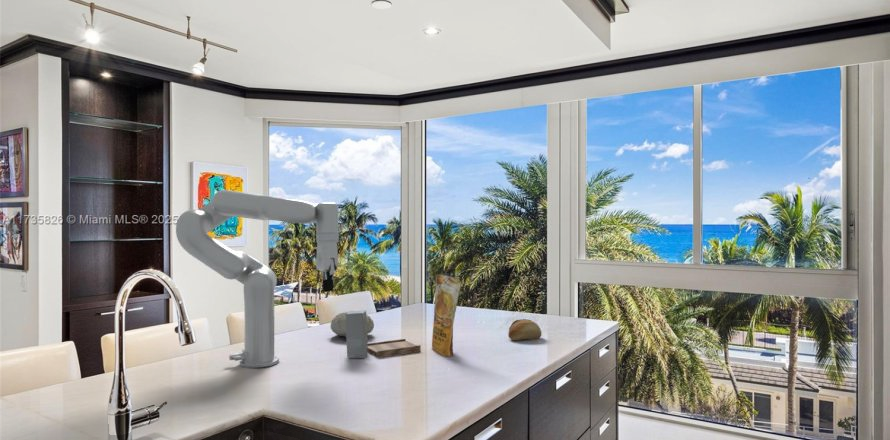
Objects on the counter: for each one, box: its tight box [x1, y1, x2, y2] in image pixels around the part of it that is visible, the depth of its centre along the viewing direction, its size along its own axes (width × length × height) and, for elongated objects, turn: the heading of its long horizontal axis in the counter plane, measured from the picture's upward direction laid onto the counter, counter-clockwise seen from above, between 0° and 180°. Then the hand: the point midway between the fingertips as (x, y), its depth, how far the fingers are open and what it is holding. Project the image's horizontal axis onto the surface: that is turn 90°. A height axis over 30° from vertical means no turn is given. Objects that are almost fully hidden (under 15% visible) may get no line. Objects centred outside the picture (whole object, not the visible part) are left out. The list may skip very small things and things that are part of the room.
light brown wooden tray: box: [367, 338, 422, 358], centre depth 194 cm, size 17×13×2 cm
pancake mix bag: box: [431, 273, 462, 358], centre depth 193 cm, size 7×19×28 cm, turn 22°
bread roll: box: [507, 318, 542, 341], centre depth 214 cm, size 10×15×8 cm, turn 116°
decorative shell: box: [330, 311, 375, 338], centre depth 218 cm, size 18×18×10 cm
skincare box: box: [345, 310, 369, 359], centre depth 187 cm, size 8×7×16 cm
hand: (327, 290), depth 181 cm, fingers closed
